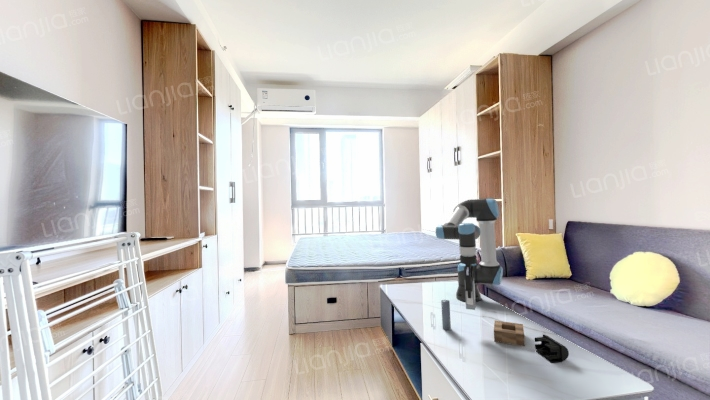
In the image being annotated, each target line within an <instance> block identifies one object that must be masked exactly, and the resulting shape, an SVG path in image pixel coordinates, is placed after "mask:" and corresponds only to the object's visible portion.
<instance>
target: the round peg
mask: <svg viewBox="0 0 710 400" xmlns="http://www.w3.org/2000/svg"><path fill="white" fill-rule="evenodd" d="M440 301H441V303H440V304H441V318H442V319H441V321H442V323H441V324H442V330H443V331H451V328H452V325H451V306H450V305H451V304H450V300H449V299H442V300H440Z"/></svg>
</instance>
